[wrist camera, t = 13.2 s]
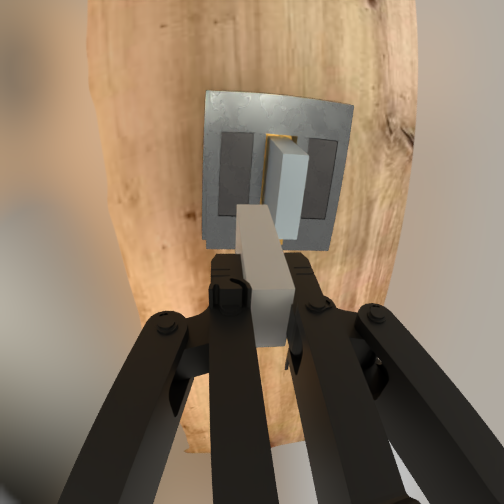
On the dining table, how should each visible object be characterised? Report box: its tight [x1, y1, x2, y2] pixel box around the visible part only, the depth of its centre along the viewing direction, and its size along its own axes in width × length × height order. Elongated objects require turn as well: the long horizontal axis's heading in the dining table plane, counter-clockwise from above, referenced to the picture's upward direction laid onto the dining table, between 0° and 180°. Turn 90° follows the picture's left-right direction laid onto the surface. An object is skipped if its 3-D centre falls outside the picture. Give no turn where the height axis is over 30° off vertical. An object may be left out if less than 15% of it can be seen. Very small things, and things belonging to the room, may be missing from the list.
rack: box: [202, 90, 354, 251], centre depth 38 cm, size 20×18×4 cm
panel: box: [261, 135, 309, 240], centre depth 35 cm, size 9×2×10 cm, turn 176°
